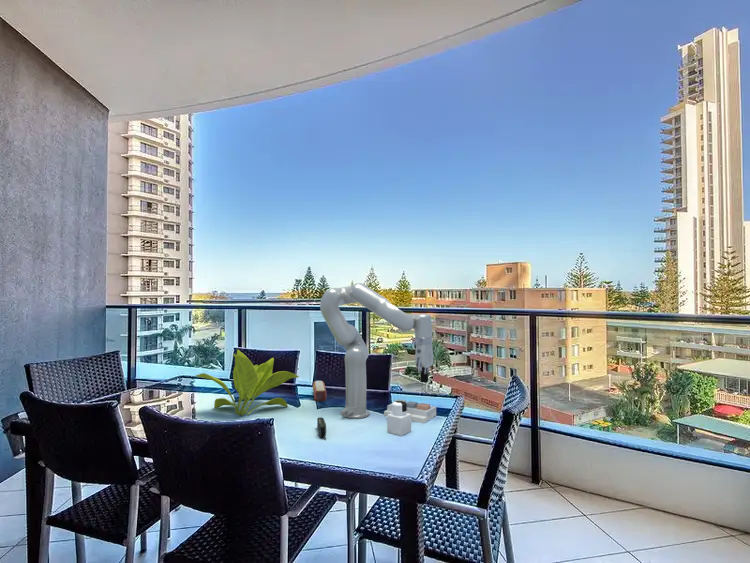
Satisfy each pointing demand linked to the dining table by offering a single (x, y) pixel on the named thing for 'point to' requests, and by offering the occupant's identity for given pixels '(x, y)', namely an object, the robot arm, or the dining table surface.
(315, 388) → the snack package
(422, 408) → the terracotta key
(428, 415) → the white shallow tray
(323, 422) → the mobile phone
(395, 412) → the medicine bottle
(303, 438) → the dining table surface
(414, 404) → the slate key
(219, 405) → the artificial plant
